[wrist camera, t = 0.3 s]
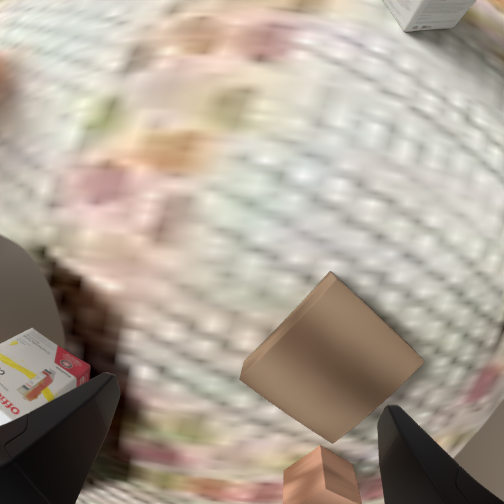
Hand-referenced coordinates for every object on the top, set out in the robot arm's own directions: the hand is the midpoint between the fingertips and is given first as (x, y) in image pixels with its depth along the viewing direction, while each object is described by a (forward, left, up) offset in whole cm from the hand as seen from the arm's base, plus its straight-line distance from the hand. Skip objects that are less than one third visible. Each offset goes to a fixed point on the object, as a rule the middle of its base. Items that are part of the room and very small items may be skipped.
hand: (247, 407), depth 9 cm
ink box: (-21, +11, -15) cm, 28 cm away
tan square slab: (-1, -7, -15) cm, 17 cm away
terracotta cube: (-11, -16, -15) cm, 25 cm away
